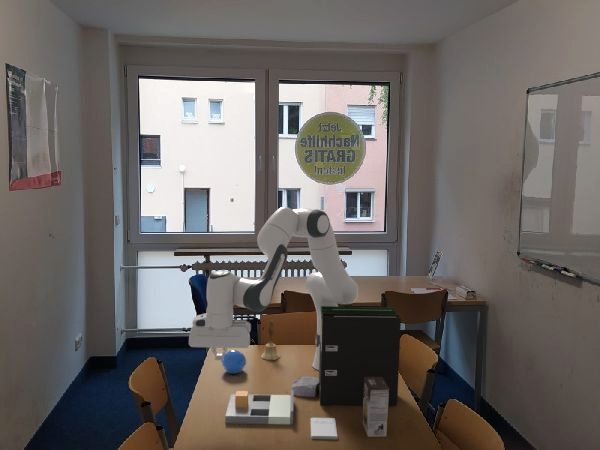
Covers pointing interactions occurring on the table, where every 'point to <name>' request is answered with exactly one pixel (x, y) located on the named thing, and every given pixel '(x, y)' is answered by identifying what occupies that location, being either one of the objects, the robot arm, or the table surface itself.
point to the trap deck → (262, 410)
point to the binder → (357, 353)
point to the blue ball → (234, 362)
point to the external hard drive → (323, 428)
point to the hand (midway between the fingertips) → (219, 359)
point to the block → (241, 399)
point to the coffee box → (375, 406)
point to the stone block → (305, 386)
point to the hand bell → (270, 346)
